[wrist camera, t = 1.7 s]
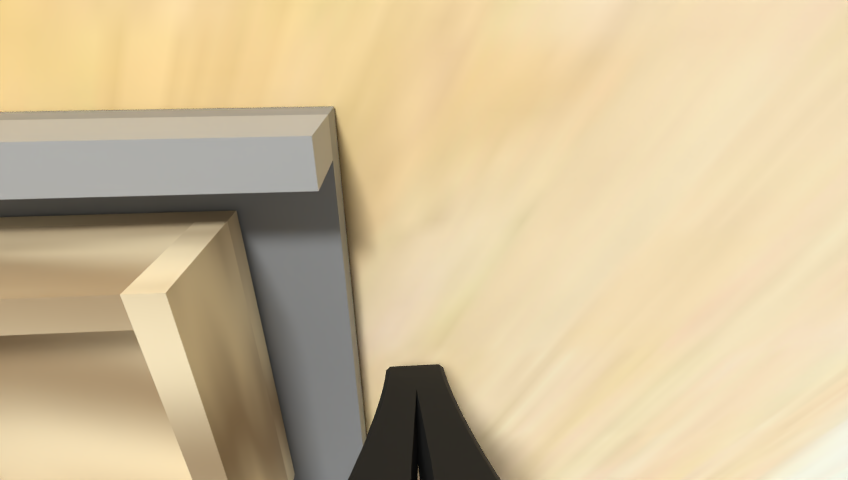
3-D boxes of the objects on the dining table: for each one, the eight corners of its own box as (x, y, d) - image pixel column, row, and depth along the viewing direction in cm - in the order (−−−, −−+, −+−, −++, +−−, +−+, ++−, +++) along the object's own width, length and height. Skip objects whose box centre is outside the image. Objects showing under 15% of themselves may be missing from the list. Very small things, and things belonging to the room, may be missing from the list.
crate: (294, 474, 14) (267, 597, 11) (-5, 492, 14) (-121, 627, 10) (236, 210, 10) (165, 292, 7) (-202, 223, 9) (-490, 317, 6)
